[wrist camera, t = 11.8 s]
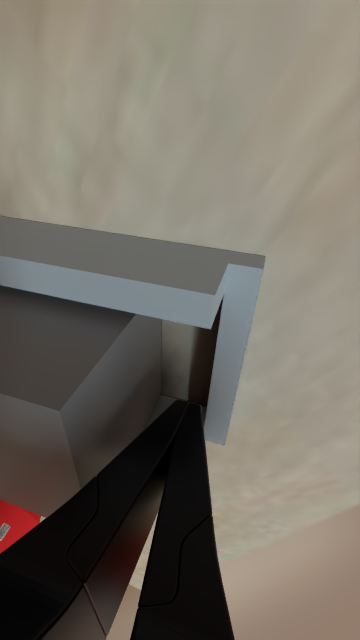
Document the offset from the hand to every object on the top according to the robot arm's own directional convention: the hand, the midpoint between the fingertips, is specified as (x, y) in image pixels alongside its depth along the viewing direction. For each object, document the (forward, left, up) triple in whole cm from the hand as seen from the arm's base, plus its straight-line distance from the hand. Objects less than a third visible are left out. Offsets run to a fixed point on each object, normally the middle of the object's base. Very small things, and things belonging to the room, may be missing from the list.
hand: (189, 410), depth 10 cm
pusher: (+4, 0, -3) cm, 5 cm away
